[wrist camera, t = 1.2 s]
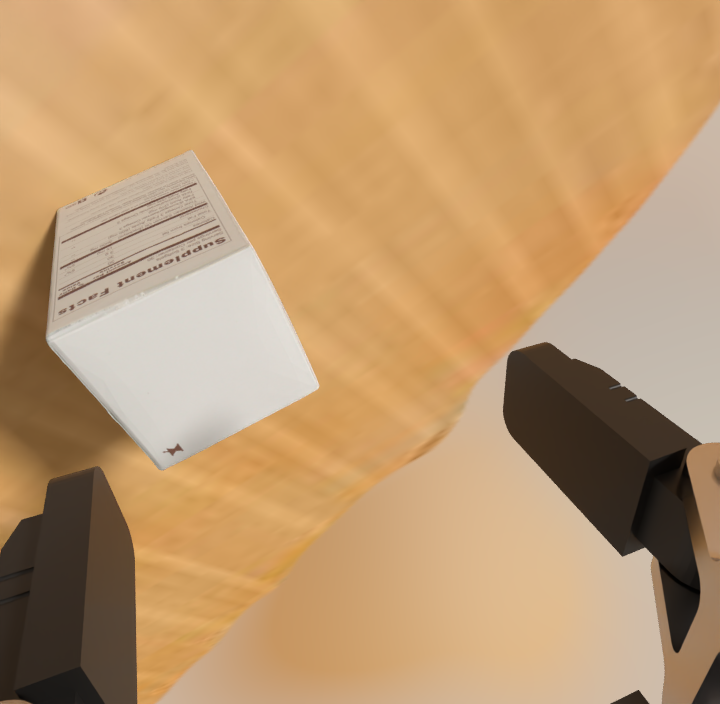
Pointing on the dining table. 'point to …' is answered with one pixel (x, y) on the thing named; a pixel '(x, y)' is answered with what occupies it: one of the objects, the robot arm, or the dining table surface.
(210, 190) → the supplement box
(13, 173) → the dining table surface
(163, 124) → the dining table surface
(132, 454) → the dining table surface
